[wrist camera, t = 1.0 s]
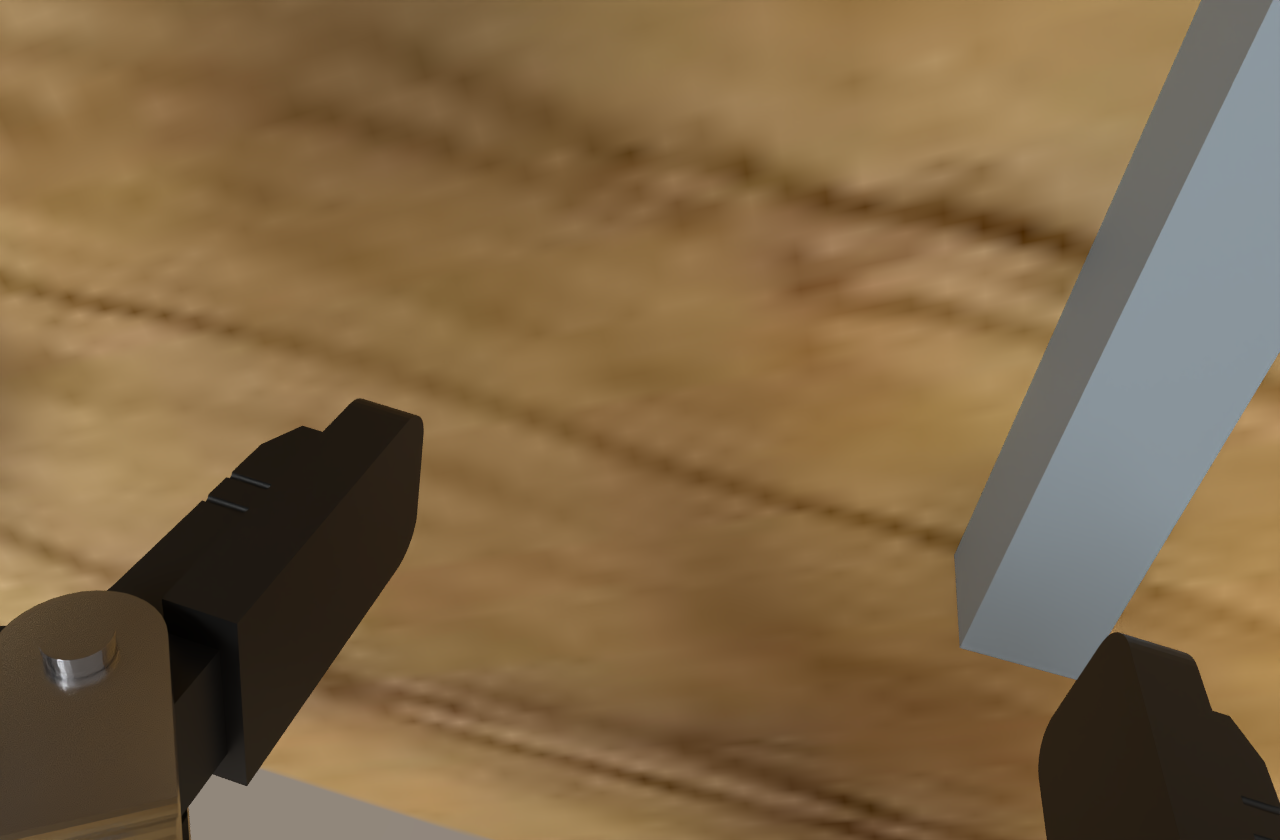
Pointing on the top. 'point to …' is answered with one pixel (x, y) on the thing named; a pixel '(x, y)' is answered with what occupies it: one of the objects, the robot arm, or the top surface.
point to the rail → (1139, 359)
